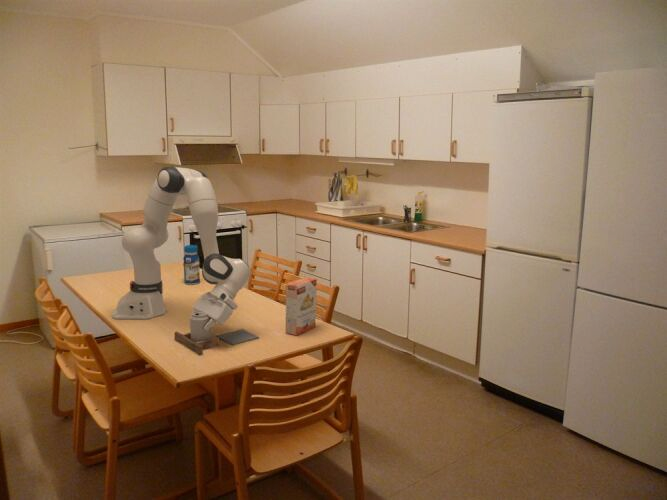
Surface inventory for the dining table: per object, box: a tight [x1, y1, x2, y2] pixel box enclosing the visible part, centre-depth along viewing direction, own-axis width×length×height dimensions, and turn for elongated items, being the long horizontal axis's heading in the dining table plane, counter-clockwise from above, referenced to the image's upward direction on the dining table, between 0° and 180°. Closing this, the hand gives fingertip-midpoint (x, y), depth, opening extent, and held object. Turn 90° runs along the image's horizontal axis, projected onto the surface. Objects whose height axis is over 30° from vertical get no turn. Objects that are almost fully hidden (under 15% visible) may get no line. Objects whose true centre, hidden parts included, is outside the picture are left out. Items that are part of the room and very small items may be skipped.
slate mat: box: [215, 328, 260, 346], centre depth 223 cm, size 12×12×1 cm
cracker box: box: [285, 276, 318, 336], centre depth 231 cm, size 14×6×21 cm, turn 148°
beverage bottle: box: [182, 244, 201, 286], centre depth 299 cm, size 8×8×20 cm
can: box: [189, 310, 212, 342], centre depth 215 cm, size 8×8×12 cm
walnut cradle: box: [174, 331, 220, 356], centre depth 215 cm, size 10×20×3 cm, turn 41°
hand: (198, 326), depth 214 cm, fingers closed on can, 7 cm apart
